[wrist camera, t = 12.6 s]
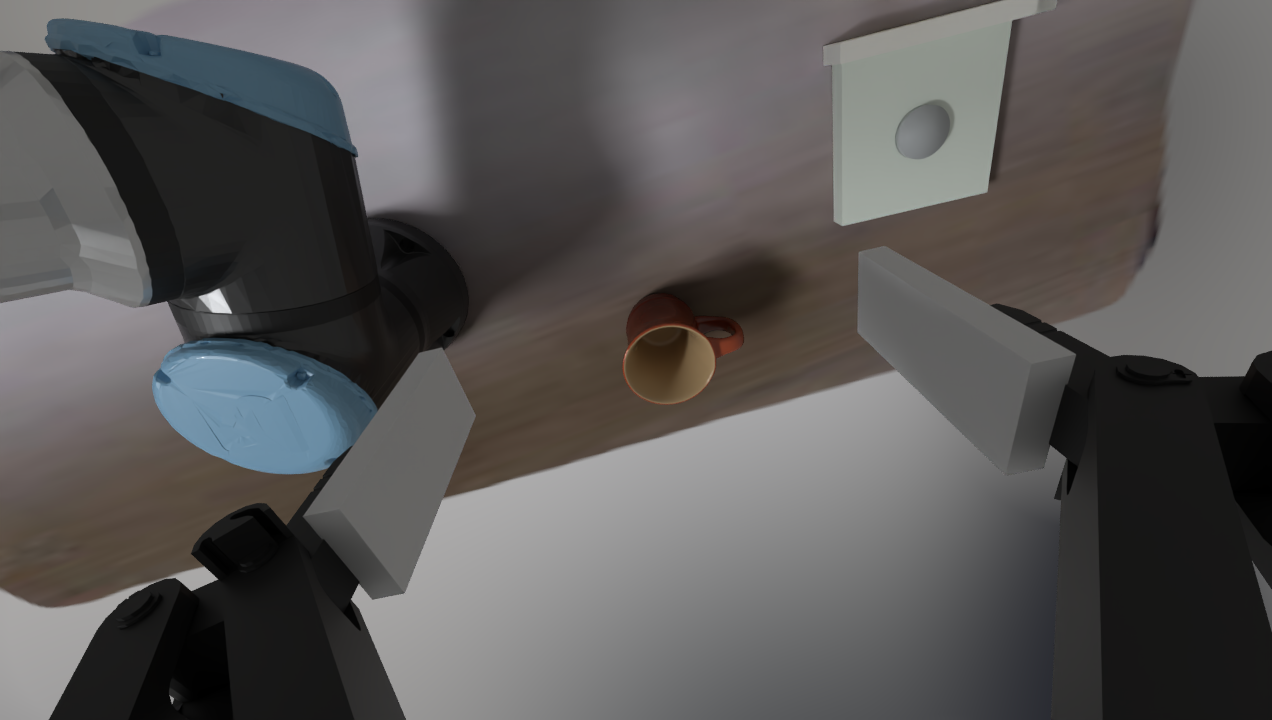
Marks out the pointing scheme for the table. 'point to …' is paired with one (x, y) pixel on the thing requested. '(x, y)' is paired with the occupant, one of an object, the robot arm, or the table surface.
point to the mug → (673, 349)
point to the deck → (919, 109)
